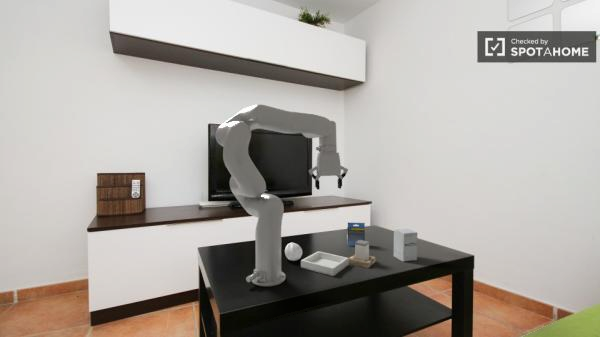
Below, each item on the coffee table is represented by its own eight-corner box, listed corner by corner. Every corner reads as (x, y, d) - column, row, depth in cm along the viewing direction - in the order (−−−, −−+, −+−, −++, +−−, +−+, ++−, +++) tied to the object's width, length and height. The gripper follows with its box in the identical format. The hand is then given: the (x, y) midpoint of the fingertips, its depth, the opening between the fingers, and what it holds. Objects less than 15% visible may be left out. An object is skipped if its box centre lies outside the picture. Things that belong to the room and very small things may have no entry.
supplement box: (403, 262, 119) (403, 233, 118) (393, 256, 126) (393, 229, 125) (417, 260, 121) (418, 232, 120) (406, 254, 128) (407, 228, 127)
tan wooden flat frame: (368, 268, 112) (368, 263, 112) (348, 263, 117) (348, 258, 117) (375, 261, 119) (375, 256, 119) (356, 257, 124) (356, 252, 124)
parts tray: (333, 276, 104) (333, 268, 104) (300, 267, 112) (300, 260, 112) (348, 264, 115) (348, 257, 115) (318, 257, 124) (318, 251, 124)
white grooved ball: (295, 264, 115) (295, 246, 115) (281, 261, 119) (281, 243, 119) (305, 259, 122) (305, 241, 122) (291, 255, 126) (291, 239, 126)
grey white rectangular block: (365, 265, 115) (365, 244, 115) (355, 262, 117) (355, 242, 117) (368, 262, 119) (369, 241, 118) (359, 259, 121) (359, 239, 121)
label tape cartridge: (363, 244, 144) (364, 221, 143) (364, 246, 140) (365, 222, 139) (346, 243, 145) (347, 220, 144) (347, 246, 141) (347, 222, 140)
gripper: (309, 150, 114) (310, 190, 114) (349, 148, 116) (350, 188, 117) (306, 150, 121) (307, 188, 122) (344, 149, 123) (345, 186, 124)
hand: (328, 188), depth 119 cm, fingers open, 9 cm apart
